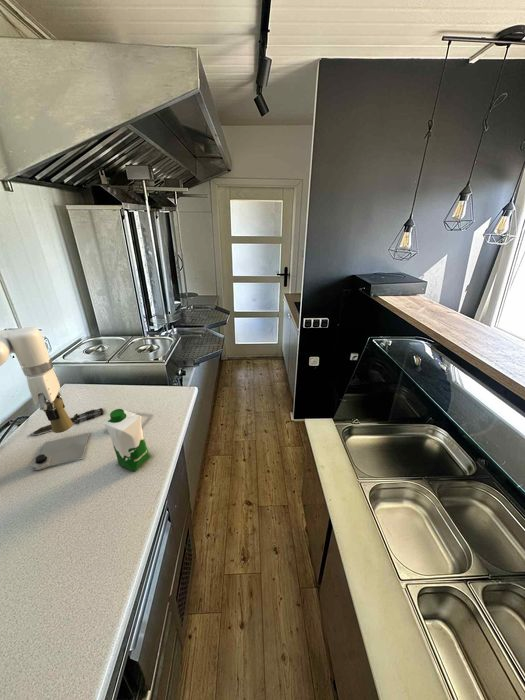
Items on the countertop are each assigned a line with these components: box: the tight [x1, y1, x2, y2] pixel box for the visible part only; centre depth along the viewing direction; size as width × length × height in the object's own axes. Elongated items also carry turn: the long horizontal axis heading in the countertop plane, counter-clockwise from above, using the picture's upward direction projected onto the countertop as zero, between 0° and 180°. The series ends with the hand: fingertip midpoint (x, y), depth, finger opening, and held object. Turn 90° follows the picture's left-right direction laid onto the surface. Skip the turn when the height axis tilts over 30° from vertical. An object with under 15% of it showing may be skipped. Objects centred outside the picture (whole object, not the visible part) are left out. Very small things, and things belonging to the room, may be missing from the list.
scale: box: [30, 432, 90, 471], centre depth 100 cm, size 15×14×2 cm
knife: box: [29, 407, 105, 436], centre depth 115 cm, size 25×6×1 cm, turn 118°
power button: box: [34, 453, 46, 464], centre depth 95 cm, size 3×3×2 cm
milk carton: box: [104, 408, 151, 472], centre depth 93 cm, size 9×9×20 cm
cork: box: [46, 398, 74, 434], centre depth 96 cm, size 6×6×11 cm
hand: (57, 413), depth 96 cm, fingers closed on cork, 5 cm apart
